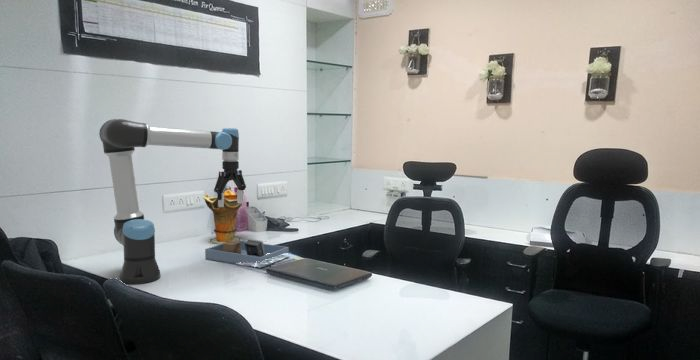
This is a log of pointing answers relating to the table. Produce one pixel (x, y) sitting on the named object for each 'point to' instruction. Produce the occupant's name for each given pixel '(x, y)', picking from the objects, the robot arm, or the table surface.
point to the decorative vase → (224, 216)
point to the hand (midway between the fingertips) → (230, 205)
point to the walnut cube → (232, 247)
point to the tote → (242, 253)
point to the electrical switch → (255, 247)
